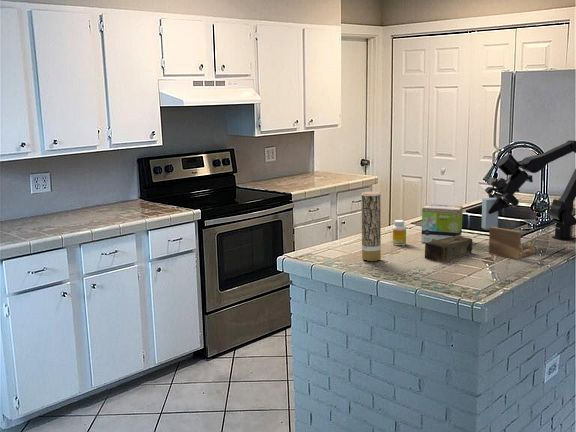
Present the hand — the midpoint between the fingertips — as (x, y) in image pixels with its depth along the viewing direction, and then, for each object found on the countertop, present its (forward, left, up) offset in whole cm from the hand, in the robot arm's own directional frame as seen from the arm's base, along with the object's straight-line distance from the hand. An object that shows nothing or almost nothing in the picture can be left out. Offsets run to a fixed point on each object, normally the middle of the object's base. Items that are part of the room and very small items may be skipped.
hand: (486, 212), depth 243 cm
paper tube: (+52, -5, -13) cm, 54 cm away
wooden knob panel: (+3, +17, -13) cm, 21 cm away
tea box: (+12, -12, -13) cm, 21 cm away
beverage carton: (+25, +6, -13) cm, 29 cm away
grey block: (-1, 0, -7) cm, 7 cm away
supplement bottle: (+29, -18, -13) cm, 37 cm away
